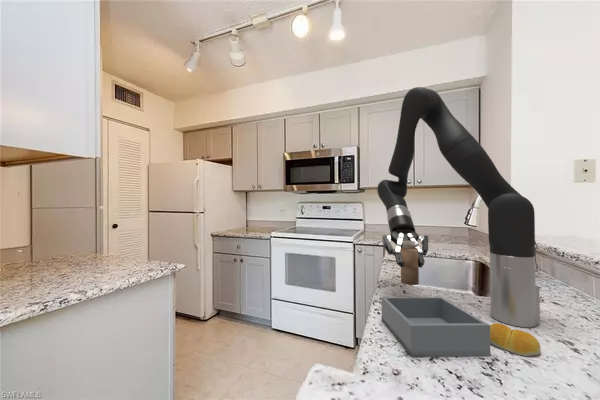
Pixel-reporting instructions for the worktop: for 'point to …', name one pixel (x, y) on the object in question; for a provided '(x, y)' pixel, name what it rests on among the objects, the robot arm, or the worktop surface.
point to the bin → (435, 327)
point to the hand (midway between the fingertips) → (411, 265)
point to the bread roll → (513, 340)
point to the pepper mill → (409, 263)
